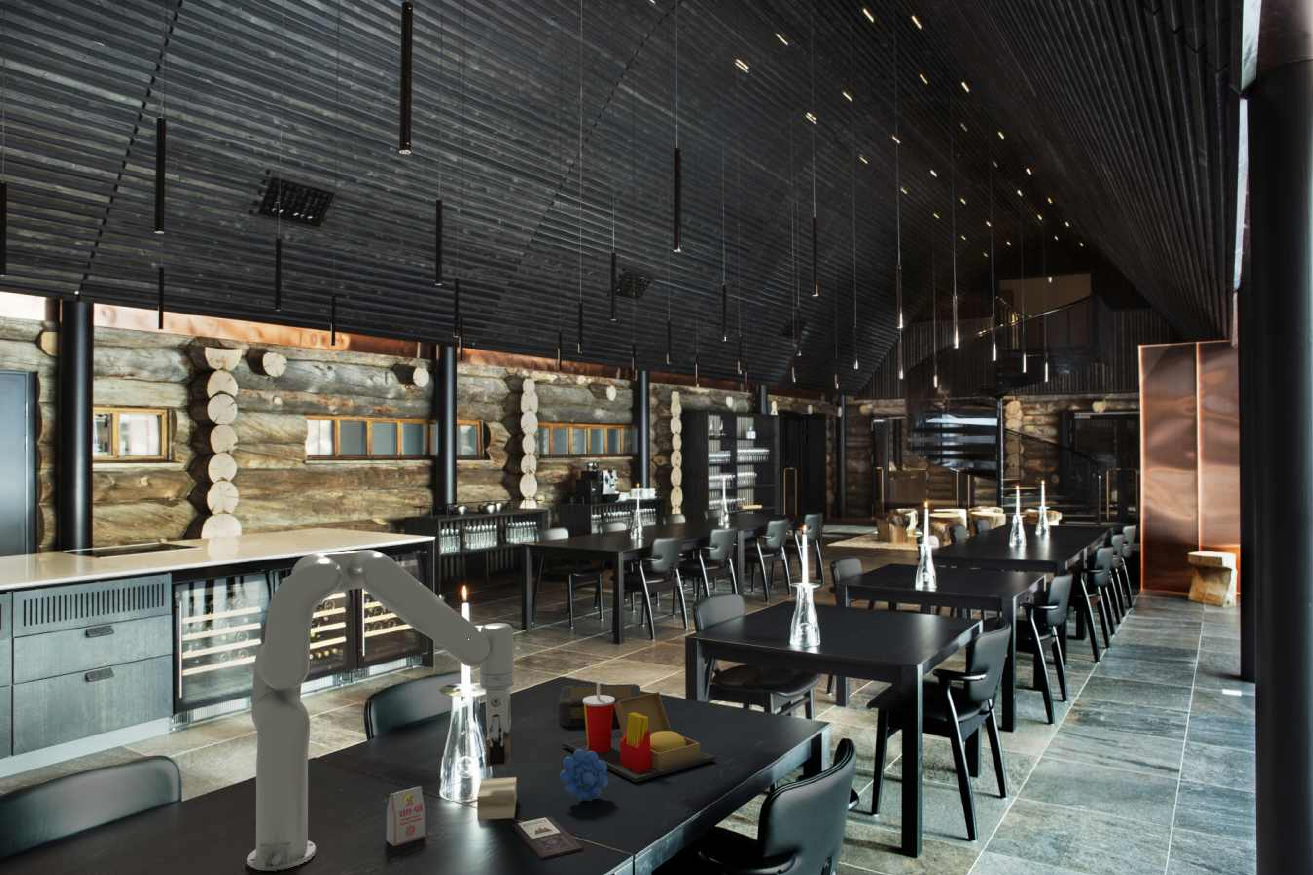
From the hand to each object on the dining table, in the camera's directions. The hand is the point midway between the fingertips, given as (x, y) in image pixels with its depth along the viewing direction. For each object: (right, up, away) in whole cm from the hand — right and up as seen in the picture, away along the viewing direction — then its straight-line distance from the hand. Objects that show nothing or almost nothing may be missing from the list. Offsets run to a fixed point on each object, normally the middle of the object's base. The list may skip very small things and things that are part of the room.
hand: (498, 758), depth 194 cm
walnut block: (0, -1, 0) cm, 1 cm away
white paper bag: (-16, -11, -16) cm, 25 cm away
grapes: (+20, -11, +3) cm, 23 cm away
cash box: (+19, -14, +72) cm, 76 cm away
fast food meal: (+31, -13, +35) cm, 48 cm away
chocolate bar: (+13, -11, -16) cm, 24 cm away
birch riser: (0, -11, -1) cm, 11 cm away
